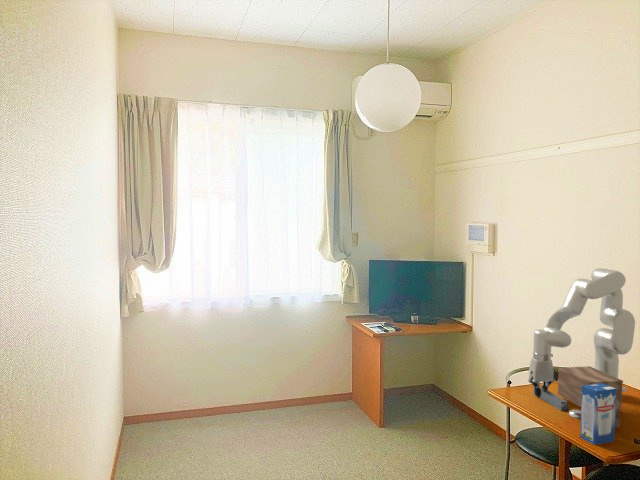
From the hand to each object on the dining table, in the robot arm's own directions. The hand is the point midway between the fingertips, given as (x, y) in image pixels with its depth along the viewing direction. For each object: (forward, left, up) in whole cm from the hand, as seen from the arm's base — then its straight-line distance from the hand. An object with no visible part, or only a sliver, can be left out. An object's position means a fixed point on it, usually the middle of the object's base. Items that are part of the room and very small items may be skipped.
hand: (540, 395), depth 224 cm
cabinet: (-4, +26, -1) cm, 26 cm away
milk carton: (+6, +43, -1) cm, 43 cm away
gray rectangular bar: (0, +6, -1) cm, 7 cm away
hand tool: (-27, -16, -1) cm, 31 cm away
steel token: (-2, +22, -1) cm, 22 cm away
